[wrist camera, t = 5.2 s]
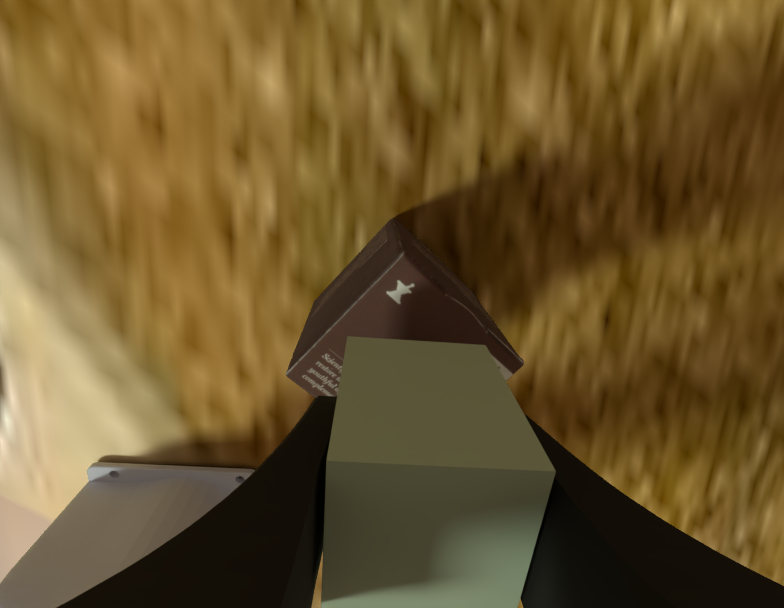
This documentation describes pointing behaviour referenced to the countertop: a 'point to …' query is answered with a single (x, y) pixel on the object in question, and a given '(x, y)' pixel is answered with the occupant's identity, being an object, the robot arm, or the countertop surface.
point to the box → (392, 310)
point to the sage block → (429, 480)
